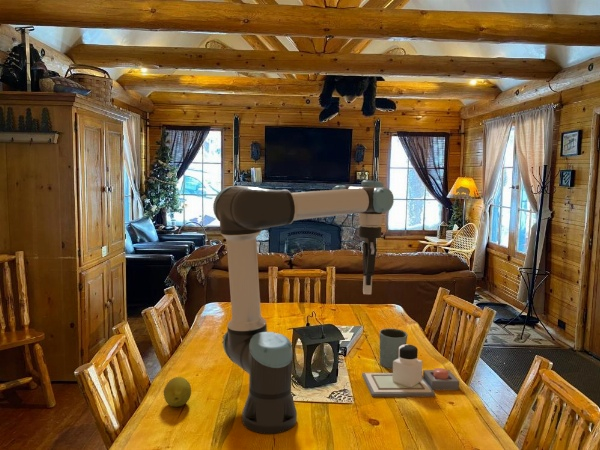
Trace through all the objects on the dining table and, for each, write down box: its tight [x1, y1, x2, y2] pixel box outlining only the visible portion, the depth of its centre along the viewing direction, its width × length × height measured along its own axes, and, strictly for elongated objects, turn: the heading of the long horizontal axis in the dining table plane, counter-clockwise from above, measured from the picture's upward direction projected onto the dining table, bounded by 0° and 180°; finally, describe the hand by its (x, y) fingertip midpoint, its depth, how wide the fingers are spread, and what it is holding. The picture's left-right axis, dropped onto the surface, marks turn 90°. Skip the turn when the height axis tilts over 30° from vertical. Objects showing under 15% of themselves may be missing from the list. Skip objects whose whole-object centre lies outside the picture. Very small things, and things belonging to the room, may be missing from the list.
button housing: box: [422, 369, 460, 391], centre depth 161 cm, size 9×9×3 cm
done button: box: [433, 367, 450, 379], centre depth 161 cm, size 5×5×4 cm
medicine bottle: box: [392, 343, 424, 388], centre depth 159 cm, size 7×7×12 cm
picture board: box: [361, 372, 436, 398], centre depth 160 cm, size 16×20×2 cm
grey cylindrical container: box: [379, 328, 408, 370], centre depth 177 cm, size 10×10×12 cm
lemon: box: [163, 376, 192, 408], centre depth 142 cm, size 11×8×8 cm
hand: (367, 293), depth 167 cm, fingers closed
